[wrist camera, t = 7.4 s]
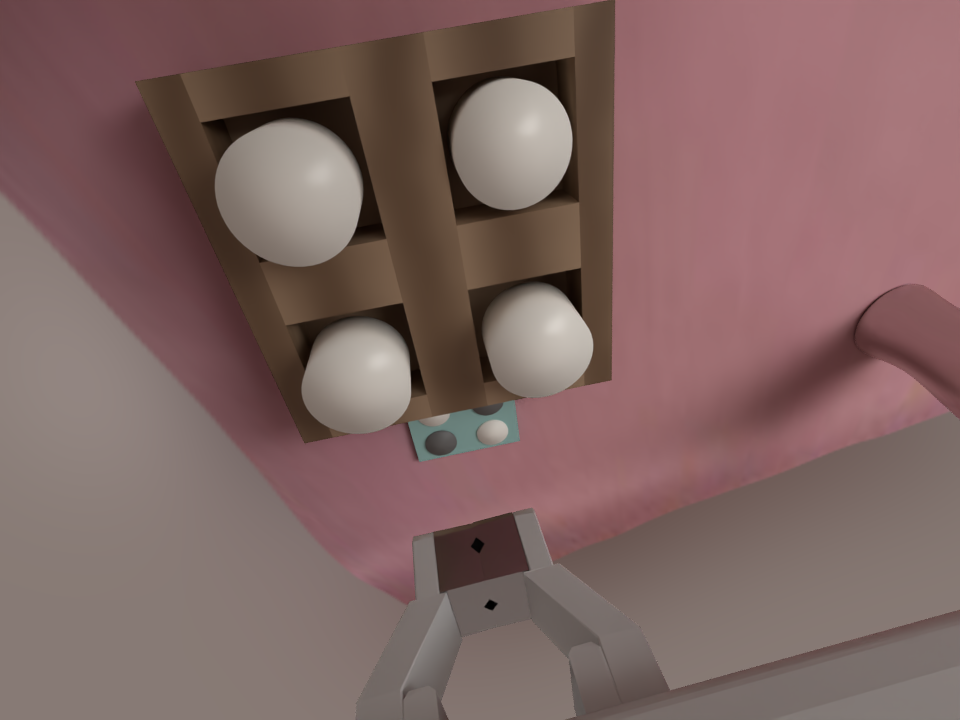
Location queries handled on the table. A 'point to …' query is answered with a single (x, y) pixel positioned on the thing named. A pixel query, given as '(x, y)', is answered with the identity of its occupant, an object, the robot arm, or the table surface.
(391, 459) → the table surface
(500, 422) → the card
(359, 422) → the button
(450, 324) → the wooden compartment tray
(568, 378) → the button
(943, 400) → the beer glass
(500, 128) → the button
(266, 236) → the button
